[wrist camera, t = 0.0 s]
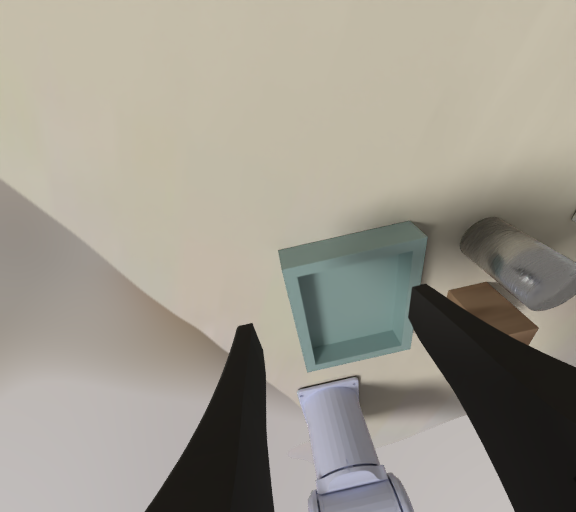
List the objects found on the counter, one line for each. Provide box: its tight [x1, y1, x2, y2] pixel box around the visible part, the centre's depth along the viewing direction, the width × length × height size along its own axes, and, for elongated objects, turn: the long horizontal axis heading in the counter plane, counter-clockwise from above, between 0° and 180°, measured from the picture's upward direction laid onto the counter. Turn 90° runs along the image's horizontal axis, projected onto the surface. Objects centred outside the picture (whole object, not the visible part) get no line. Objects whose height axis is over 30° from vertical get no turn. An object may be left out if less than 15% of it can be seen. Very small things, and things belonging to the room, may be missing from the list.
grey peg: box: [460, 217, 576, 311], centre depth 21 cm, size 4×4×7 cm
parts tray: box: [278, 221, 428, 372], centre depth 25 cm, size 14×11×3 cm
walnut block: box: [447, 282, 539, 345], centre depth 26 cm, size 4×4×6 cm
